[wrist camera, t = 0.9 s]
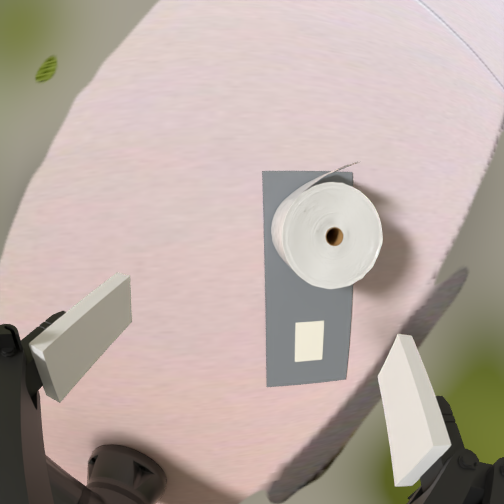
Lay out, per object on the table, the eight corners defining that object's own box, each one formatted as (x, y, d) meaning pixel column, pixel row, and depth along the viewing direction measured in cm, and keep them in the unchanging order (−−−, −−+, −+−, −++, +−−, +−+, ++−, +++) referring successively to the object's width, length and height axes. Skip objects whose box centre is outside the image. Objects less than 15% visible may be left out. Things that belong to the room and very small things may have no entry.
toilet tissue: (281, 280, 41) (295, 302, 31) (258, 189, 39) (265, 181, 29) (357, 259, 41) (390, 273, 31) (337, 171, 39) (367, 159, 29)
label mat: (345, 379, 43) (345, 379, 43) (266, 386, 43) (266, 387, 43) (352, 172, 40) (352, 172, 39) (262, 171, 39) (262, 171, 39)
